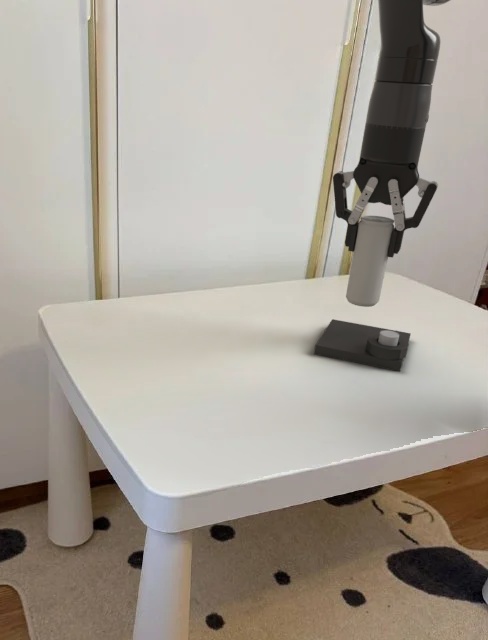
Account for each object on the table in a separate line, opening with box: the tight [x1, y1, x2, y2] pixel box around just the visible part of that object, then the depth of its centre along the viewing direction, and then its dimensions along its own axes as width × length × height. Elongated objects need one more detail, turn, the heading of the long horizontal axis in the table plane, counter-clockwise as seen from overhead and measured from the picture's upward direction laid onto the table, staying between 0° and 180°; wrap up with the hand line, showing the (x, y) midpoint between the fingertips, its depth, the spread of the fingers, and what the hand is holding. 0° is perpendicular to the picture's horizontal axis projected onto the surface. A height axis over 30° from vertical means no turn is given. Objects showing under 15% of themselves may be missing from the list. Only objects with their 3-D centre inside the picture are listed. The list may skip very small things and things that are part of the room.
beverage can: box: [345, 215, 395, 308], centre depth 90 cm, size 5×5×12 cm
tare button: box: [378, 329, 399, 346], centre depth 88 cm, size 3×3×2 cm
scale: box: [313, 318, 411, 372], centre depth 93 cm, size 12×12×3 cm
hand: (371, 252), depth 89 cm, fingers closed on beverage can, 5 cm apart
